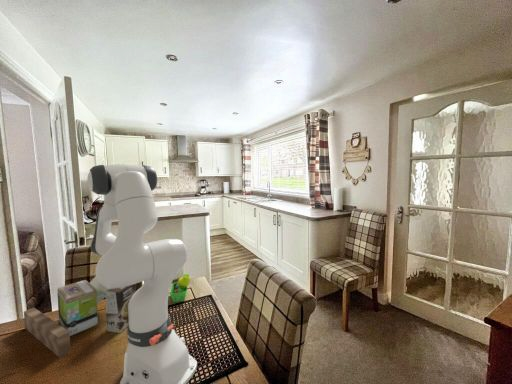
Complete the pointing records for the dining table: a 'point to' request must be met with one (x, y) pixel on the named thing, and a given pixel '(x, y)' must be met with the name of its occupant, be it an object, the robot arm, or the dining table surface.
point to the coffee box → (118, 307)
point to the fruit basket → (180, 289)
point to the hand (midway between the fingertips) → (94, 303)
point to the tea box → (77, 306)
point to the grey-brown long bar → (47, 331)
